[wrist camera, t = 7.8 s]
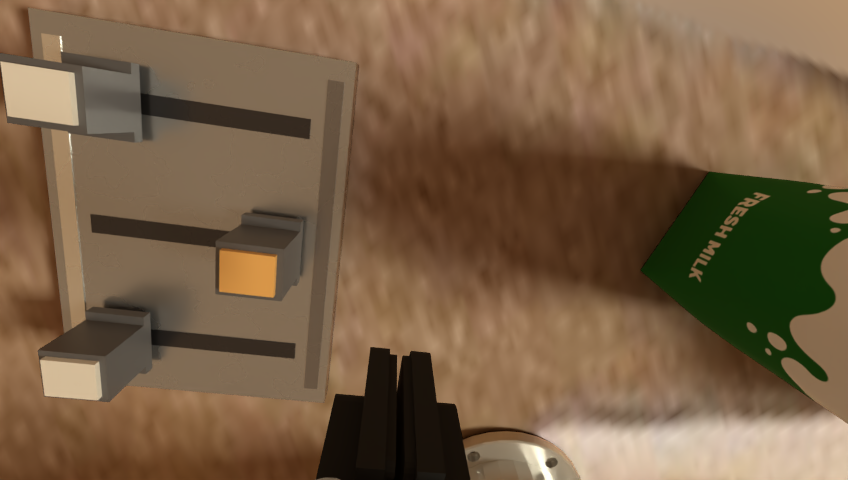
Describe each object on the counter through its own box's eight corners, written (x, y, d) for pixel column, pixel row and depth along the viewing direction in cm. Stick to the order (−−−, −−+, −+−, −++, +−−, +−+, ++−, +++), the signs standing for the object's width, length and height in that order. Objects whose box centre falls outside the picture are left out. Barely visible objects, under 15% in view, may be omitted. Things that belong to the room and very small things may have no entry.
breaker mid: (303, 219, 21) (283, 240, 18) (299, 281, 22) (278, 314, 19) (245, 212, 21) (212, 232, 17) (244, 275, 22) (212, 306, 18)
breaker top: (150, 312, 23) (100, 350, 19) (152, 367, 24) (105, 414, 20) (93, 306, 22) (30, 344, 19) (98, 362, 23) (40, 409, 20)
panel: (358, 65, 21) (356, 62, 20) (327, 390, 26) (323, 403, 25) (49, 13, 20) (26, 7, 18) (84, 368, 25) (68, 380, 24)
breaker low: (139, 64, 19) (74, 50, 15) (142, 142, 20) (82, 147, 16) (71, 53, 19) (-12, 36, 15) (77, 132, 20) (2, 135, 16)
